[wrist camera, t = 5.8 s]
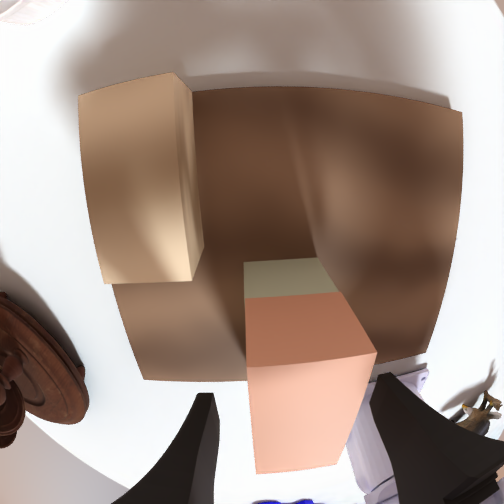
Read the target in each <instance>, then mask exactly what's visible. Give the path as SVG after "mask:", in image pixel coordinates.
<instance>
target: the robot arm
mask: <svg viewBox="0 0 504 504" xmlns="http://www.w3.org/2000/svg"><path fill="white" fill-rule="evenodd" d="M428 374H429V371H428V369H423V370H419V371H416V372H412V373H409V374H405V375H401V376H397V377H395V376H394V375H393V374H392V373H391V372H389V373H384V374H380V375H378V378H377V381H376V382H372V383H368V385H367V388H366V391H365V394H364V397H363V400H362V403H361V406H360V409H359V411H358V414H357V417H356V419H355V422H354V424H353V427H352V430H351V432H350V434H349V437H348V439H347V442H346V447H347V451H348V454H349V458H350V461H351V465H352V468H353V472H354V475H355V479H356V482H357V484H358V486H359V488H360V489H361V490H362V491H363V492H364V493H366V494H367V495H365V496H364V499H365V502H366V504H504V477H503V478H502V479H500V480H499V481H498V482H496V480H495V479H496V478H497V477H498V475H497V473H496V471H497V470H498V469H499V468H500V467H502V466H503V465H504V441H500V440H495V439H491V438H488V437H485V436H482V435H479V434H477V433H474V432H472V431H469V430H467V429H465V428H463V427H461V426H459V425H457V424H455V423H454V422H452V421H450V420H449V419H447V418H445V417H444V416H442V415H441V414H439V413H438V412H437V411H435V410H434V409H433V408H431V407H430V406H429V405H427V404H426V403H425V402H424V400H423V398H422V397H421V395H420V392H421V390H422V387H423V385H424V383H425V381H426V379H427V377H428ZM219 435H220V419H219V415H218V411H217V407H216V402H215V398H214V394H213V393H198V394H197V395H196V398H195V400H194V403H193V405H192V407H191V409H190V411H189V413H188V415H187V417H186V419H185V421H184V423H183V425H182V426H181V428H180V430H179V432H178V433H177V435H176V437H175V438H174V440H173V441H172V443H171V444H170V446H169V447H168V449H167V450H166V451H165V453H164V454H163V455H162V457H161V458H160V459H159V460H158V462H157V463H156V464H155V465H154V466H153V468H152V469H151V470H150V471H149V472H148V473H147V474H146V475H145V476H144V477H143V478H142V479H141V480H140V481H139V482H138V483H137V484H136V485H135V486H133V487H132V488H131V489H130V490H129V491H128V492H126V493H125V494H124V495H123V496H121V497H120V498H119V499H117V500H116V501H114V502H113V503H111V504H214V479H215V471H216V463H217V455H218V447H219Z"/></svg>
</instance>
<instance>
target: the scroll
mask: <svg viewBox="0 0 504 504" xmlns="http://www.w3.org/2000/svg"><path fill="white" fill-rule="evenodd" d="M84 377H85V368H84V367H83V366H79V367H77V368H76V367H75V365H74V364H73V362H72V361H71V359H70V358H69V357H68V355H67V354H66V353H65V351H64V350H63V349H62V348H61V346H60V345H59V344H58V343H57V342H56V341H55V339H54V338H53V337H52V336H51V335H50V334H49V333H48V332H47V331H46V330H45V329H44V328H43V327H42V326H41V325H40V324H39V323H38V322H37V321H36V320H35V319H34V318H33V317H31V316H30V315H29V314H28V313H27V312H25V311H24V310H23V309H21V308H20V307H19V306H17V305H16V304H14V303H13V302H11V301H9V300H7V294H6V293H5V292H0V448H5V447H8V446H9V445H11V444H12V443H13V441H14V440H15V438H16V434H17V430H18V429H19V428H20V427H21V425H22V424H23V421H24V418H25V410H26V411H28V412H29V413H31V414H33V415H35V416H37V417H39V418H41V419H44V420H46V421H50V422H54V423H59V424H68V425H69V424H76V423H78V422H80V421H81V420H82V419H83V418H84V416H85V413H86V412H87V410H88V407H89V395H88V391H87V388H86V385H85V383H84V381H83V380H84Z"/></svg>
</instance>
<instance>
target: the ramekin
mask: <svg viewBox="0 0 504 504" xmlns="http://www.w3.org/2000/svg"><path fill="white" fill-rule="evenodd" d="M67 1H68V0H0V22H7V23H12V24H16V25H30V24H33V23H36V22H38V21H40V20H42V19H44V18H46V17H47V16H49V15H50V14H52V13H53V12H55V11H56V10H57V9H59V8H60V7H61V6H62V5H63V4H64V3H66V2H67Z"/></svg>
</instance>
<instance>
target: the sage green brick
mask: <svg viewBox="0 0 504 504" xmlns="http://www.w3.org/2000/svg"><path fill="white" fill-rule="evenodd" d="M330 292H339V291H338V289H337V288H336V286H335V284H334V283H333V281H332V280H331V278H330V276H329V275H328V273H327V272H326V270H325V268H324V267H323V265H322V264H321V262H320V261H319V259H318V257H317V258H302V259H286V260H270V261H253V262H244V304H245V298H261V297H278V296H292V295H306V294H318V293H330Z"/></svg>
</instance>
